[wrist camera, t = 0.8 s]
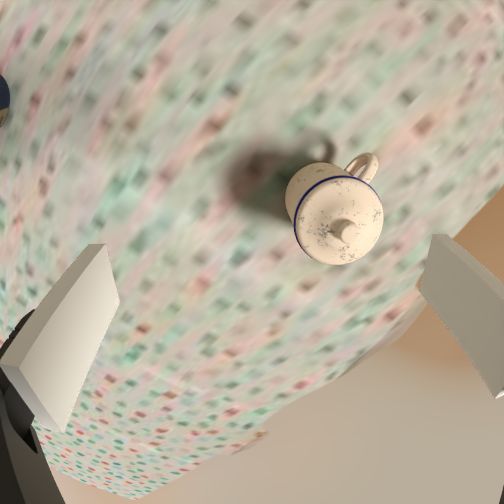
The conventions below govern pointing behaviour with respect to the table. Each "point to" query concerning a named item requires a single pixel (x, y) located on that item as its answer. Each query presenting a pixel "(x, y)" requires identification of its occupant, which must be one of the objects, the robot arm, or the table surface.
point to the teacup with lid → (335, 210)
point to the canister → (3, 100)
